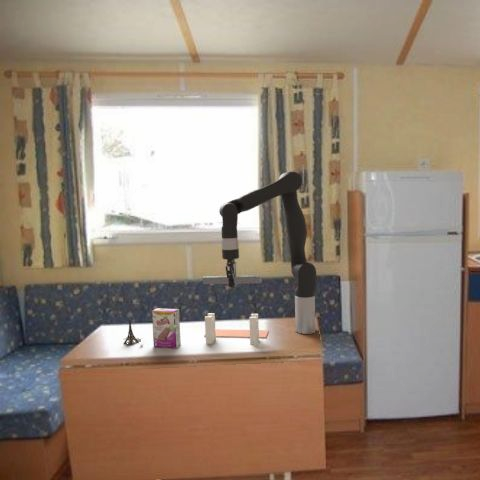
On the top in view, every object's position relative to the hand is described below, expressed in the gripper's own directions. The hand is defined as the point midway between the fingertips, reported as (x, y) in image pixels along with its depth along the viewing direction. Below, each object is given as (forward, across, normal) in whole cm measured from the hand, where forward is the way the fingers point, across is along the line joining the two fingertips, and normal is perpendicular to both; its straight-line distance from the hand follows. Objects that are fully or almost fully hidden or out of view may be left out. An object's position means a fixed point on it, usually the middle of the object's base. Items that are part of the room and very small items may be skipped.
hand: (232, 285), depth 183 cm
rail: (-1, 0, 0) cm, 1 cm away
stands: (+25, -3, 0) cm, 25 cm away
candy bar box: (+25, -10, +29) cm, 39 cm away
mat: (+25, +8, 0) cm, 26 cm away
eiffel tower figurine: (+25, -7, +46) cm, 53 cm away
